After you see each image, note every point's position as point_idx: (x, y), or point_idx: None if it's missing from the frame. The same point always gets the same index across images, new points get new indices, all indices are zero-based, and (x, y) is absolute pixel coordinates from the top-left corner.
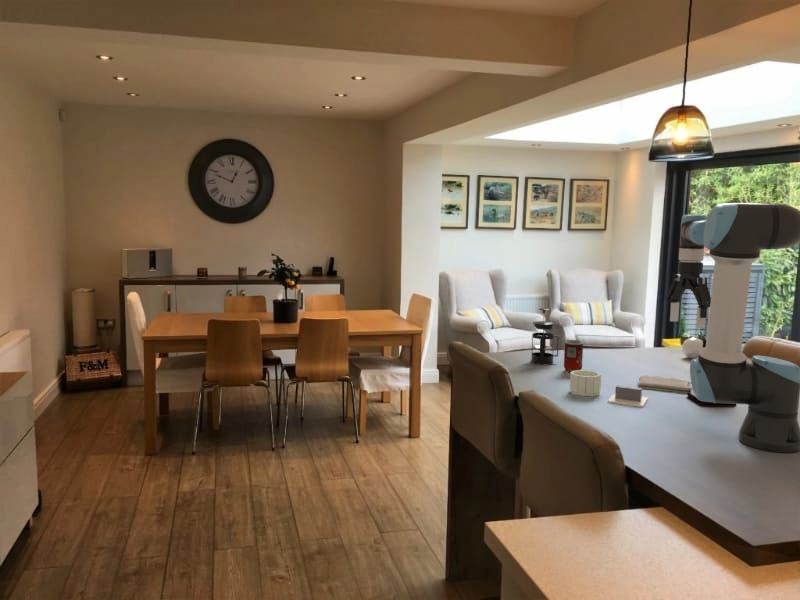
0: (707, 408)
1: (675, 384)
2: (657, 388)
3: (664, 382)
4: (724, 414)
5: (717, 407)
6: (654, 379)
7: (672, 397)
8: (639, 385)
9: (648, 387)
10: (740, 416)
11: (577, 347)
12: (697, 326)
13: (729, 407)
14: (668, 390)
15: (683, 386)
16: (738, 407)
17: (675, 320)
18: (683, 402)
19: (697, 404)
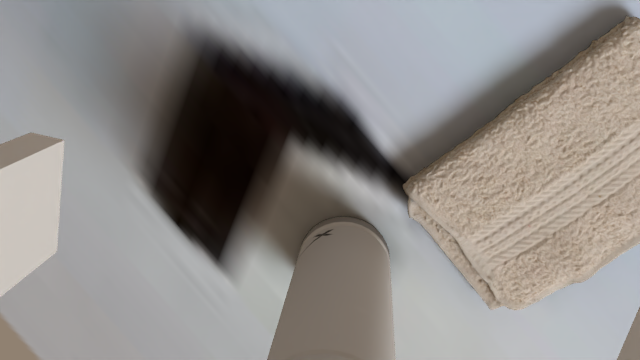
0: (166, 41)
1: (483, 178)
2: (538, 90)
3: (551, 162)
4: (64, 32)
5: (163, 103)
6: (633, 166)
7: (385, 41)
8: (628, 21)
9: (580, 57)
10: (21, 75)
11: None
12: (27, 140)
13: (146, 156)
14: (486, 125)
15: (436, 188)
16: (133, 193)
17: (633, 347)
18: (290, 16)
19: (236, 55)
